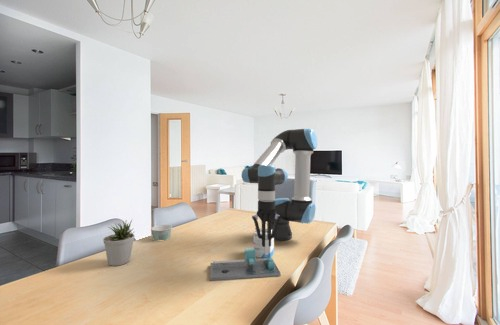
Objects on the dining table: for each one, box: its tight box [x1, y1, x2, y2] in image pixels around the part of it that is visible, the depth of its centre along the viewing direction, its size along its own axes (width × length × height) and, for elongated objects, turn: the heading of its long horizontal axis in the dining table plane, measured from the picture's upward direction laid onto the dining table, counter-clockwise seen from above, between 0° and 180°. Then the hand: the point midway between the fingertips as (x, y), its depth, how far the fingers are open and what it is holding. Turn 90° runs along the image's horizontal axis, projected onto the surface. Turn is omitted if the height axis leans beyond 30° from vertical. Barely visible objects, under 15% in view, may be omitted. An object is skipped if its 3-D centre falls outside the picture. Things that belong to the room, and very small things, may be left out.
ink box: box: [252, 227, 275, 259], centre depth 123 cm, size 9×8×13 cm
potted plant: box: [102, 219, 135, 267], centre depth 113 cm, size 13×14×20 cm
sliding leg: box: [244, 247, 256, 269], centre depth 106 cm, size 4×8×6 cm, turn 8°
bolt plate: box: [209, 257, 282, 282], centre depth 105 cm, size 28×14×4 cm, turn 99°
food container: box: [150, 224, 173, 241], centre depth 147 cm, size 12×12×6 cm
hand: (266, 253), depth 109 cm, fingers closed
